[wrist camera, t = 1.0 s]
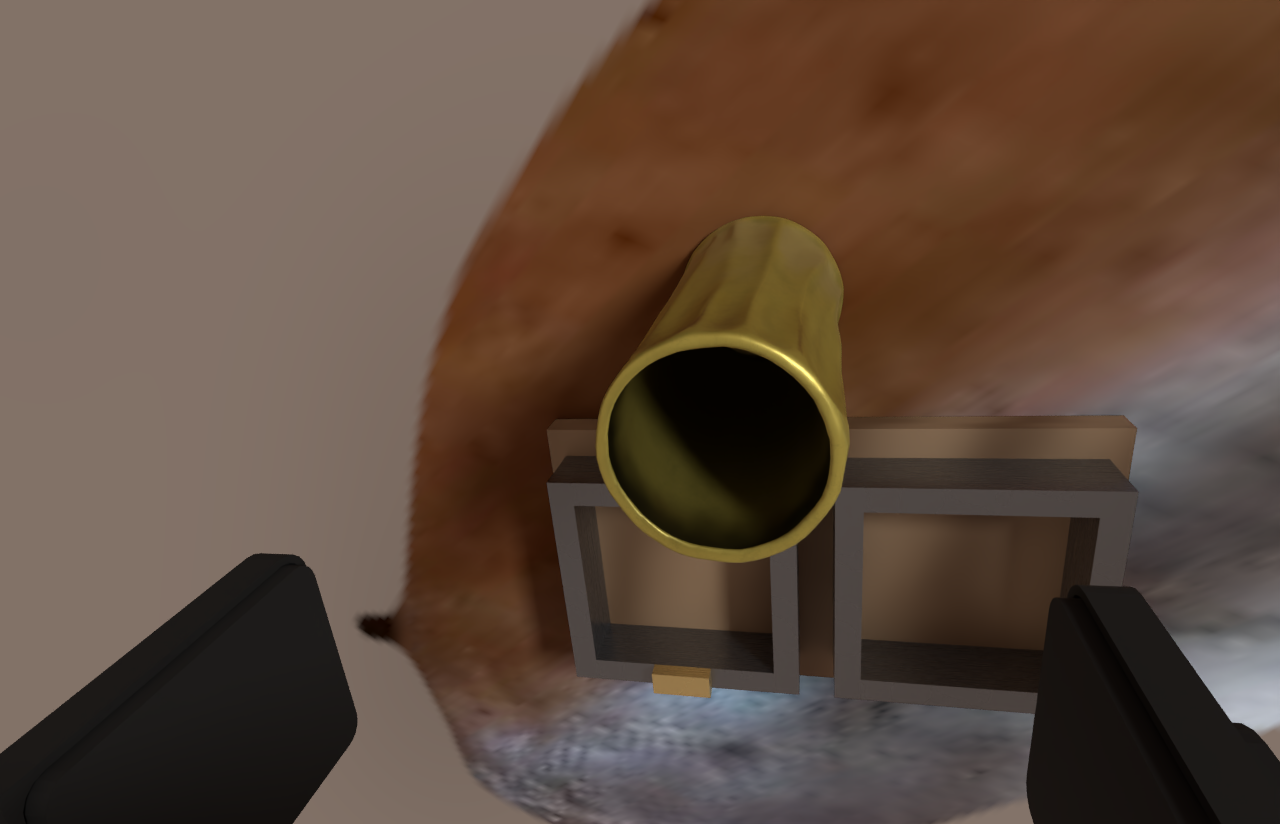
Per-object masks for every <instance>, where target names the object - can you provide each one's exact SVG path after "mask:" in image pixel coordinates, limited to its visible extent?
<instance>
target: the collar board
mask: <svg viewBox="0 0 1280 824" xmlns="http://www.w3.org/2000/svg"><path fill="white" fill-rule="evenodd" d="M847 421H848V424H849V435H850V446H849V451H848V456H847V458H1004V459H1110V460H1111V461H1112V462H1113V463H1114V464H1115V466H1116V467H1117V468H1118V469H1119V470H1120V471H1121V472H1122V474H1123V475H1124V476H1125V477H1126V478H1127V479H1128V480H1129V474H1130V468H1131V462H1132V456H1133V450H1134V444H1135V438H1136V432H1137V428H1136V427H1135V426H1134V425H1133V424H1132V423H1131V422H1130V421H1129V420H1128V419H1127V418H1126V417H1125V416H1124V415H1120V416H967V417H847ZM597 422H598V419H555V421H554V422H553V423H552V424H551V425H550V427H549V428H548V429H547V436H548V443H549V449H550V456H551V462H552V469H553V473H554V472H555V470H556V469H557V468H558V466H559V465H560V464H561V462H562V461H563V459H564V458H565V457H566V456H596V447H595V443H596V429H597ZM595 509H596V517H597V524H598V532H599V539H600V547H601V554H602V562H603V570H604V577H605V585H606V592H607V600H608V607H609V615H610V622H611V623H614V624H630V625H646V626H662V627H678V628H694V629H710V630H726V631H742V632H758V633H773V632H772V604H771V575H770V557H767V558H764V559H760V560H756V561H750V562H744V563H726V562H718V561H710V560H703V559H697V558H692V557H688V556H684V555H682V554H679V553H676V552H674V551H672V550H671V549H669V548H666V547H665V546H663V545H661V544H660V543H658V542H657V541H655V540H654V539H652V538H651V537H649V536H648V535H646V534H645V533H644V532H642V531H641V530H640V529H639V528H638V527H637V526H636V525H635V524H634V523H633V522H632V521H631V520H630V519H629V518H628V516H627V515H626V514H625V513H624V511H623V510H622V509H621V507H605V506H595ZM1070 519H1071V517H1039V516H995V515H952V514H909V513H865V512H864V530H863V581H862V631H861V639H870V640H886V641H902V642H918V643H934V644H950V645H966V646H982V647H998V648H1014V649H1030V650H1044V642H1045V635H1046V627H1047V620H1048V612H1049V607H1050V603H1051V601H1052V599H1053V598H1055V597H1058V598H1060V592H1061V584H1062V577H1063V570H1064V563H1065V555H1066V548H1067V541H1068V534H1069V526H1070ZM798 568H799V623H800V675H805V676H818V677H832V678H834V674H833V506H832V508H831V509H830V510H829V512H828V513H827V515H826V516H825V517H824V518H823V519H822V520H821V522H820V523H819V524H818V525H817V526H816V527H815V528H814V529H813V530H812V531H811V532H810V533H809V534H808V536H806V537H805V538H804V539H802V540H801V541H800V542H799V543H798Z"/></svg>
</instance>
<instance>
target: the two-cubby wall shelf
mask: <svg viewBox="0 0 1280 824" xmlns="http://www.w3.org/2000/svg"><path fill="white" fill-rule="evenodd" d="M547 489H548V495H549V501H550V508H551V514H552V520H553V527H554V533H555V539H556V546H557V552H558V558H559V565H560V571H561V577H562V584H563V590H564V596H565V603H566V609H567V615H568V621H569V628H570V634H571V640H572V647H573V653H574V659H575V666H576V672H577V677H589V678H602V679H614V680H626V681H639V682H651V683H653V689H654V693H659V694H671V695H683V696H694V697H706V698H710V697H711V691H712V688H725V689H737V690H749V691H761V692H774V693H786V694H798V695H799V682H800V623H799V568H798V543H797V544H796V545H794V546H792V547H790V548H789V549H787V550H785V551H783V552H780V553H778V554H775V555H773V556H770V575H771V604H772V632H773V633H758V632H742V631H726V630H710V629H694V628H678V627H662V626H646V625H630V624H614V623H611V622H610V615H609V607H608V600H607V592H606V585H605V577H604V570H603V562H602V554H601V547H600V539H599V532H598V524H597V517H596V509H595V506H605V507H620V506H619V505H618V504H617V502H616V501H615V500H614V498H613V497H612V496H611V494H610V493H609V491H608V489H607V487H606V485H605V483H604V481H603V478H602V475H601V473H600V470H599V466H598V462H597V459H596V456H566V457H565V458H564V459H563V461H562V462H561V464H560V465H559V466H558V468H557V469H556V470H555V472H554V473H553V475H552V476H551V477H550V479H549V480H548V482H547ZM1138 493H1139V492H1138V491H1137V490H1136V488H1135V487H1134V486H1133V485H1132V484H1131V483H1130V482H1129V480H1128V479H1127V478H1126V477H1125V476H1124V475H1123V474H1122V472H1121V471H1120V470H1119V469H1118V468H1117V467H1116V466H1115V464H1114V463H1113V462H1112V461H1111V460H1110V459H1004V458H847V461H846V466H845V472H844V477H843V482H842V488H841V492H840V494H839V496H838V498H837V500H836V502H835V504H834V505H833V674H834V697H835V698H848V699H860V700H872V701H884V702H897V703H909V704H921V705H934V706H946V707H958V708H970V709H983V710H995V711H1007V712H1020V713H1032V714H1035V710H1036V703H1037V695H1038V688H1039V680H1040V672H1041V665H1042V657H1043V650H1030V649H1014V648H998V647H982V646H966V645H950V644H934V643H918V642H902V641H886V640H870V639H861V631H862V581H863V530H864V512H865V513H909V514H952V515H995V516H1039V517H1071V519H1070V526H1069V534H1068V541H1067V548H1066V555H1065V563H1064V570H1063V577H1062V584H1061V592H1060V598H1067V596H1068V592H1069V590H1070V588H1071V587H1072V586H1074V585H1095V586H1121V587H1122V584H1123V579H1124V573H1125V567H1126V561H1127V556H1128V550H1129V544H1130V538H1131V533H1132V527H1133V521H1134V515H1135V510H1136V504H1137V498H1138Z"/></svg>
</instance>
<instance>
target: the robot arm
mask: <svg viewBox="0 0 1280 824" xmlns="http://www.w3.org/2000/svg"><path fill="white" fill-rule="evenodd" d="M356 728H357V713H356V709H355V706H354V703H353V700H352V696H351V693H350V690H349V686H348V683H347V680H346V676H345V673H344V670H343V667H342V663H341V660H340V657H339V653H338V650H337V647H336V643H335V640H334V637H333V634H332V630H331V627H330V624H329V621H328V617H327V614H326V611H325V607H324V604H323V601H322V598H321V594H320V591H319V588H318V584H317V581H316V578H315V575H314V573H313V571H312V570H311V569H310V568H309V567H307V566H306V565H305V562H304V561H303V560H302V559H301V558H300V557H299V556H296V555H289V554H288V555H287V554H262V553H260V554H253V555H252V556H250V557H248V558H246V559H245V560H244V561H243V562H242V563H240V564H239V565H238V566H236V567H235V568H234V569H233V570H231V571H230V572H229V573H228V574H226V575H225V576H224V577H223V578H221V579H220V580H219V581H217V582H216V583H215V584H214V585H212V586H211V587H210V588H209V589H207V590H206V591H205V592H204V593H202V594H201V595H200V596H199V597H197V598H196V599H195V600H194V601H192V602H191V603H190V604H188V605H187V606H186V607H185V608H183V609H182V610H181V611H180V612H178V613H177V614H176V615H175V616H173V617H172V618H171V619H170V620H168V621H167V622H166V623H164V624H163V625H162V626H161V627H159V628H158V629H157V630H156V631H154V632H153V633H152V634H151V635H149V636H148V637H147V638H146V639H144V640H143V641H142V642H141V643H139V644H138V645H137V646H136V647H134V648H133V649H132V650H131V651H129V652H128V653H127V654H125V655H124V656H123V657H122V658H120V659H119V660H118V661H117V662H115V663H114V664H113V665H112V666H110V667H109V668H108V669H106V670H105V671H104V672H103V673H101V674H100V675H99V676H98V677H97V678H95V679H94V680H93V681H91V682H90V683H89V684H88V685H86V686H85V687H84V688H83V689H81V690H80V691H79V692H77V693H76V694H75V695H74V696H72V697H71V698H70V699H69V700H67V701H66V702H65V703H64V704H62V705H61V706H60V707H59V708H57V709H56V710H55V711H54V712H52V713H51V714H50V715H48V716H47V717H46V718H45V719H44V720H42V721H41V722H40V723H38V724H37V725H36V726H35V727H33V728H32V729H31V730H30V731H28V732H27V733H26V734H25V735H23V736H22V737H21V738H20V739H18V740H17V741H16V742H14V743H13V744H12V745H11V746H9V747H8V748H7V749H6V750H4V751H3V752H2V753H1V754H0V824H293V823H294V821H295V820H296V818H297V817H298V816H299V814H300V813H301V811H302V810H303V809H304V807H305V806H306V804H307V803H308V802H309V800H310V799H311V797H312V796H313V795H314V793H315V792H316V791H317V789H318V788H319V787H320V785H321V784H322V782H323V781H324V780H325V778H326V777H327V775H328V774H329V773H330V771H331V770H332V769H333V767H334V766H335V764H336V763H337V761H338V760H339V759H340V757H341V756H342V755H343V753H344V752H345V751H346V749H347V748H348V746H349V745H350V743H351V742H352V740H353V737H354V735H355V733H356ZM1026 785H1027V798H1028V804H1029V809H1030V813H1031V816H1032V819H1033V822H1034V824H1280V761H1279V760H1278V759H1277V757H1276V756H1275V755H1274V753H1273V752H1272V751H1271V750H1270V748H1269V747H1268V745H1267V744H1266V743H1265V742H1264V741H1263V740H1262V739H1261V737H1260V736H1259V735H1258V734H1257V733H1256V732H1255V731H1254V730H1252V729H1251V728H1249V727H1247V726H1245V725H1244V724H1242V723H1232V722H1231V721H1230V719H1229V718H1228V716H1227V715H1226V714H1225V712H1224V711H1223V709H1222V708H1221V707H1220V705H1219V704H1218V702H1217V701H1216V700H1215V698H1214V697H1213V695H1212V694H1211V692H1210V691H1209V690H1208V688H1207V687H1206V685H1205V684H1204V683H1203V681H1202V680H1201V678H1200V677H1199V675H1198V674H1197V673H1196V671H1195V670H1194V668H1193V667H1192V666H1191V664H1190V663H1189V661H1188V660H1187V659H1186V657H1185V656H1184V654H1183V653H1182V651H1181V650H1180V649H1179V647H1178V646H1177V644H1176V643H1175V642H1174V640H1173V639H1172V637H1171V636H1170V635H1169V633H1168V632H1167V630H1166V629H1165V627H1164V626H1163V625H1162V623H1161V622H1160V620H1159V619H1158V618H1157V616H1156V615H1155V613H1154V612H1153V610H1152V609H1151V608H1150V606H1149V605H1148V603H1147V602H1146V601H1145V599H1144V598H1143V596H1142V595H1141V594H1140V593H1139V592H1138V591H1137V590H1136V589H1135V588H1132V587H1121V586H1095V585H1074V586H1072V587H1071V588H1070V590H1069V592H1068V596H1067V598H1058V597H1055V598H1053V599H1052V601H1051V603H1050V607H1049V612H1048V620H1047V627H1046V635H1045V642H1044V650H1043V657H1042V665H1041V672H1040V680H1039V688H1038V695H1037V703H1036V710H1035V718H1034V725H1033V733H1032V740H1031V748H1030V755H1029V763H1028V771H1027V781H1026Z"/></svg>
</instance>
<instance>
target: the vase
mask: <svg viewBox="0 0 1280 824" xmlns="http://www.w3.org/2000/svg"><path fill="white" fill-rule="evenodd" d="M843 292H844V287H843V283H842V279H841V275H840V272H839V269H838V266H837V264H836V262H835V260H834V258H833V257H832V255H831V253H830V251H829V249H828V248H827V247H826V246H825V244H824V243H823V242H822V241H821V240H820V239H819V238H818V237H817V236H816V235H814V234H813V233H812V232H810V231H809V230H807V229H806V228H804V227H803V226H801V225H799V224H797V223H795V222H793V221H790V220H788V219H785V218H780V217H774V216H753V217H746V218H742V219H738V220H735V221H732V222H730V223H728V224H726V225H723V226H722V227H720V228H719V229H717V230H715V231H714V232H713V233H711V234H710V235H709V236H708V237H707V238H705V239H704V240H703V241H702V243H701V244H700V245H699V246H698V247H697V248H696V249H695V250H694V252H693V254H692V256H691V258H690V260H689V262H688V264H687V266H686V269H685V272H684V274H683V276H682V278H681V280H680V282H679V283H678V285H677V287H676V288H675V290H674V292H673V293H672V295H671V297H670V298H669V300H668V302H667V303H666V305H665V306H664V307H663V309H662V310H661V312H660V313H659V315H658V316H657V318H656V320H655V321H654V323H653V325H652V326H651V328H650V330H649V331H648V333H647V334H646V336H645V337H644V339H643V340H642V342H641V343H640V345H639V346H638V348H637V349H636V351H635V352H634V353H633V354H632V356H631V357H630V359H629V361H628V362H627V363H626V364H625V365H624V366H623V368H622V369H621V371H620V372H619V373H618V375H617V376H616V378H615V379H614V381H613V382H612V384H611V385H610V386H609V388H608V390H607V392H606V394H605V396H604V398H603V400H602V403H601V407H600V410H599V416H598V422H597V429H596V443H595V447H596V459H597V462H598V466H599V470H600V473H601V475H602V478H603V481H604V483H605V485H606V487H607V489H608V491H609V493H610V494H611V496H612V497H613V498H614V500H615V501H616V502H617V504H618V505H619V506H620V507H621V509H622V510H623V511H624V513H625V514H626V515H627V516H628V518H629V519H630V520H631V521H632V522H633V523H634V524H635V525H636V526H637V527H638V528H639V529H640V530H641V531H642V532H644V533H645V534H646V535H648V536H649V537H651V538H652V539H654V540H655V541H657V542H658V543H660V544H661V545H663V546H665V547H666V548H669V549H671V550H672V551H674V552H676V553H679V554H682V555H684V556H688V557H692V558H697V559H703V560H710V561H718V562H726V563H744V562H750V561H756V560H760V559H764V558H767V557H770V556H773V555H775V554H778V553H780V552H783V551H785V550H787V549H789V548H790V547H792V546H794V545H796V544H797V543H799V542H800V541H801V540H802V539H804V538H805V537H806V536H808V534H809V533H810V532H811V531H812V530H813V529H814V528H815V527H816V526H817V525H818V524H819V523H820V522H821V520H822V519H823V518H824V517H825V516H826V515H827V513H828V512H829V510H830V509H831V508H832V506H833V505H834V504H835V502H836V500H837V498H838V496H839V494H840V492H841V488H842V482H843V477H844V472H845V466H846V461H847V456H848V451H849V446H850V435H849V424H848V421H847V414H846V406H845V394H844V386H843V380H842V370H841V356H842V348H841V339H840V334H839V329H838V321H839V318H840V314H841V309H842V303H843Z"/></svg>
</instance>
